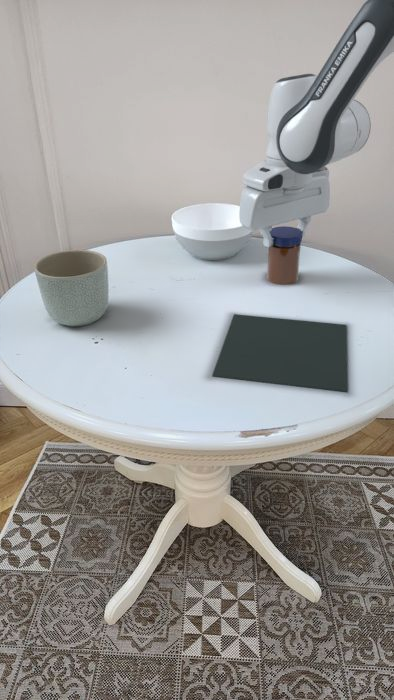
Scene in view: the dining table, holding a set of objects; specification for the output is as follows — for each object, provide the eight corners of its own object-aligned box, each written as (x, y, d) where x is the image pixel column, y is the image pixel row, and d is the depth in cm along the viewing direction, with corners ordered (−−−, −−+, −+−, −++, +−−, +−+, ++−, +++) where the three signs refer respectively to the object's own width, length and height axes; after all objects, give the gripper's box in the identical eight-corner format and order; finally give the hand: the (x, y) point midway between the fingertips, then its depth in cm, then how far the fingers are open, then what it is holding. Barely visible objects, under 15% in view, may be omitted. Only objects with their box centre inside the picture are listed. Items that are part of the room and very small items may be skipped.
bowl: (172, 269, 117) (170, 231, 112) (173, 238, 132) (172, 203, 128) (258, 267, 117) (259, 229, 112) (249, 237, 133) (250, 202, 128)
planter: (30, 322, 97) (19, 267, 91) (79, 296, 106) (72, 244, 100) (78, 341, 91) (69, 283, 85) (126, 312, 100) (121, 258, 94)
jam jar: (298, 273, 113) (302, 230, 108) (296, 286, 108) (300, 242, 103) (268, 271, 114) (270, 229, 109) (265, 284, 109) (267, 240, 104)
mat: (345, 327, 94) (346, 324, 94) (346, 393, 77) (347, 391, 77) (234, 316, 98) (234, 314, 98) (212, 377, 81) (212, 375, 81)
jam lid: (261, 238, 108) (261, 230, 107) (287, 232, 110) (287, 224, 110) (281, 248, 103) (282, 240, 102) (308, 241, 106) (309, 233, 105)
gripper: (317, 160, 106) (311, 227, 114) (235, 176, 97) (234, 247, 105) (341, 166, 102) (332, 235, 109) (256, 183, 93) (253, 258, 100)
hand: (283, 241), depth 107 cm, fingers closed on jam lid, 6 cm apart
